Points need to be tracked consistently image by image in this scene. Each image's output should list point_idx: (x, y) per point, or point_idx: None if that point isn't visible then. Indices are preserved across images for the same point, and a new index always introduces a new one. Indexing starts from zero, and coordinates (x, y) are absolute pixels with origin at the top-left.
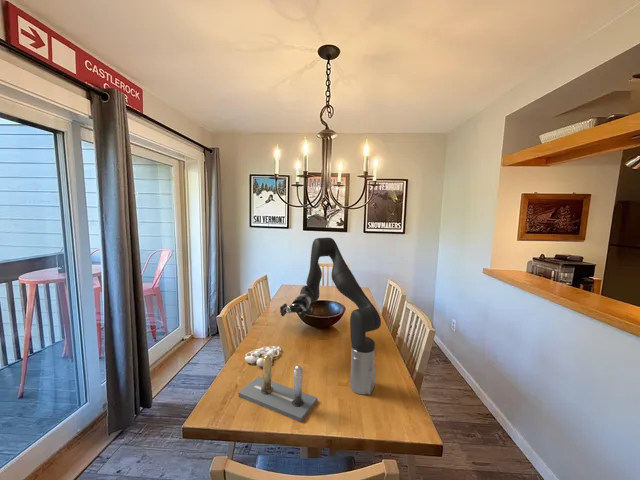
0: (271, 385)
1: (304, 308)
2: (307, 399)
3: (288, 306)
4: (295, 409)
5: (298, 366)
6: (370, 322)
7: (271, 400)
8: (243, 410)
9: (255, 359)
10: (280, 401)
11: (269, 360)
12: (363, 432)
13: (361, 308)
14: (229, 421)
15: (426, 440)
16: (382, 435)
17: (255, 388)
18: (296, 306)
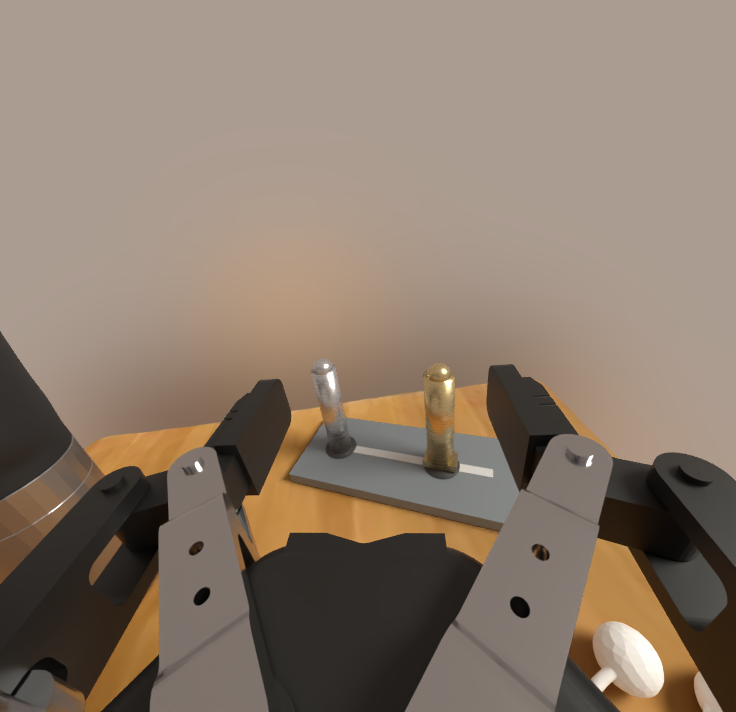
0: (442, 490)
1: (174, 519)
2: (316, 461)
3: (551, 503)
4: None
5: (320, 359)
6: None
7: (410, 438)
8: (464, 419)
9: (706, 704)
10: (386, 440)
11: (425, 372)
12: (212, 429)
13: None
14: (470, 395)
15: (107, 439)
16: (180, 431)
17: (483, 466)
18: (373, 677)
